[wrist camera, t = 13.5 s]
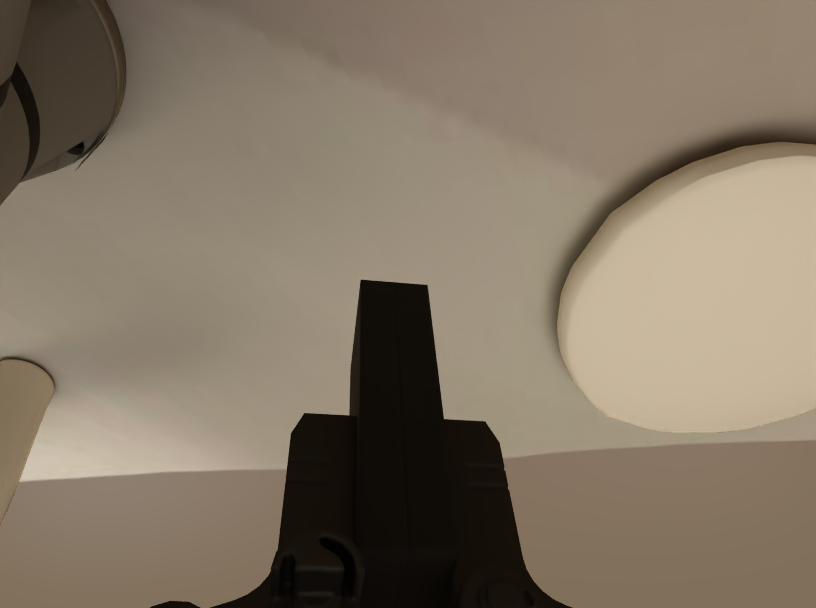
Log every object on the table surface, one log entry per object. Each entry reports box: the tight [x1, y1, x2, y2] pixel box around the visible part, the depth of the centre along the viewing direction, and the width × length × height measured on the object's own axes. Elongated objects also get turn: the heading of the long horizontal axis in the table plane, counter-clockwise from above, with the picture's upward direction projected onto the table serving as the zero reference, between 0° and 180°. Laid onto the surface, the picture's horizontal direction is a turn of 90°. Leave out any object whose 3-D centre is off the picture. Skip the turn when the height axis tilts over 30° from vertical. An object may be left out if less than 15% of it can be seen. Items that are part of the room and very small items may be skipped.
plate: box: [557, 142, 816, 433], centre depth 51 cm, size 28×6×27 cm
